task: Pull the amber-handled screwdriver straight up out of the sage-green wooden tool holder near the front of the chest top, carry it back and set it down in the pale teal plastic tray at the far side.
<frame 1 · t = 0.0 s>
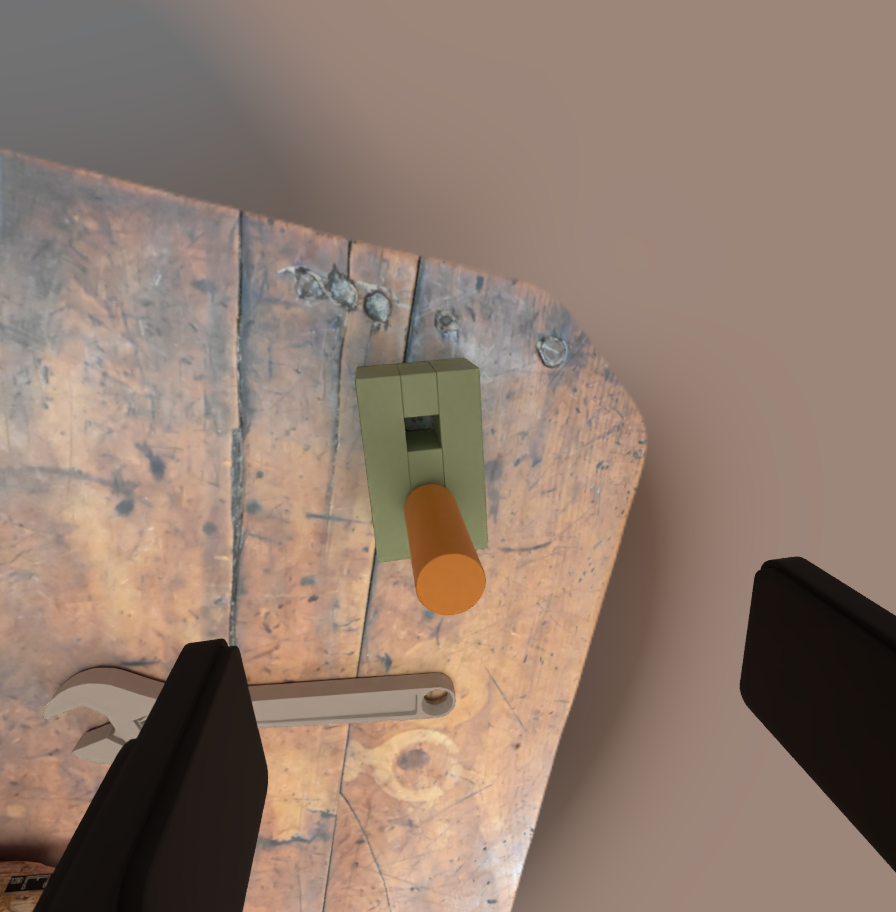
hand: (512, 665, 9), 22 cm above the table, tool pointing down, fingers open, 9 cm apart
holder: (419, 447, 31), on the table
adjustable wrench: (265, 703, 35), on the table
screwdriver: (422, 478, 32), resting in holder
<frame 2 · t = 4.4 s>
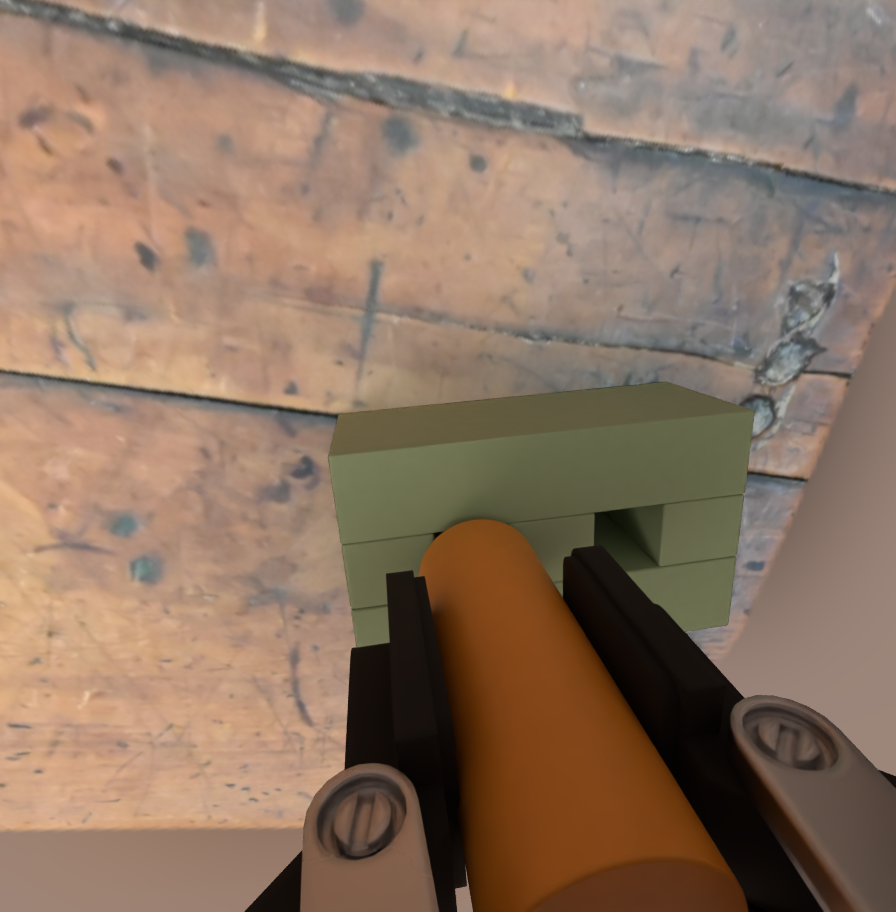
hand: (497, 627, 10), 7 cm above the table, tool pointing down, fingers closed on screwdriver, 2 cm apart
holder: (511, 491, 17), on the table
screwdriver: (450, 498, 17), resting in holder, touching gripper
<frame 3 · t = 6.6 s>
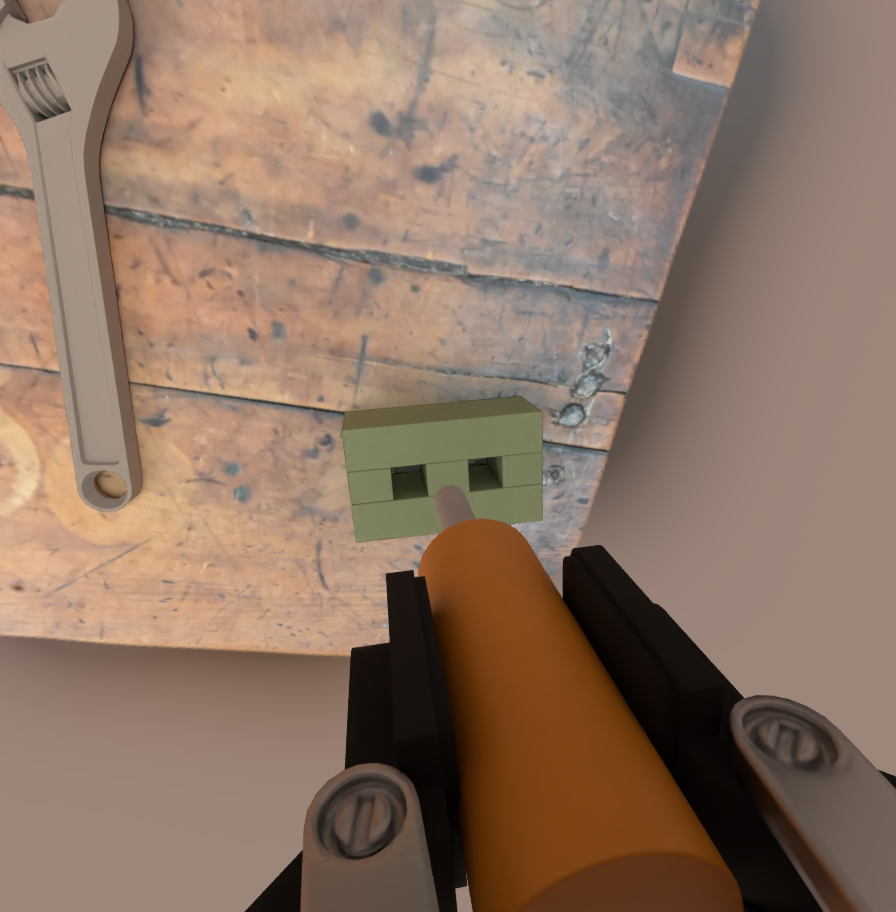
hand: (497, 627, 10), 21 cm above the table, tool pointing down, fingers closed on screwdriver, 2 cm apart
holder: (438, 454, 31), on the table
adjustable wrench: (73, 254, 25), on the table
screwdriver: (449, 498, 17), point 14 cm above the table, touching gripper
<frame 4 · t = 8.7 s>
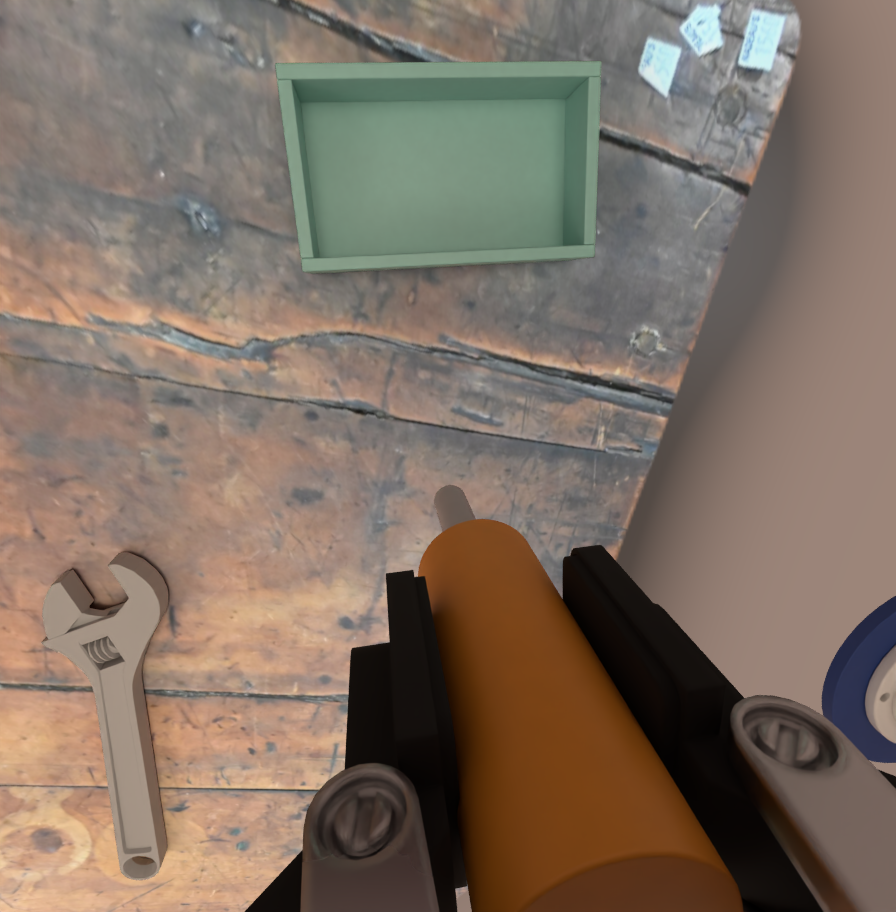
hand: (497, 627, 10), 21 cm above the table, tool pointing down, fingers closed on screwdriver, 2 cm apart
tray: (439, 183, 27), on the table
adjustable wrench: (120, 717, 34), on the table
screwdriver: (449, 498, 17), point 15 cm above the table, touching gripper
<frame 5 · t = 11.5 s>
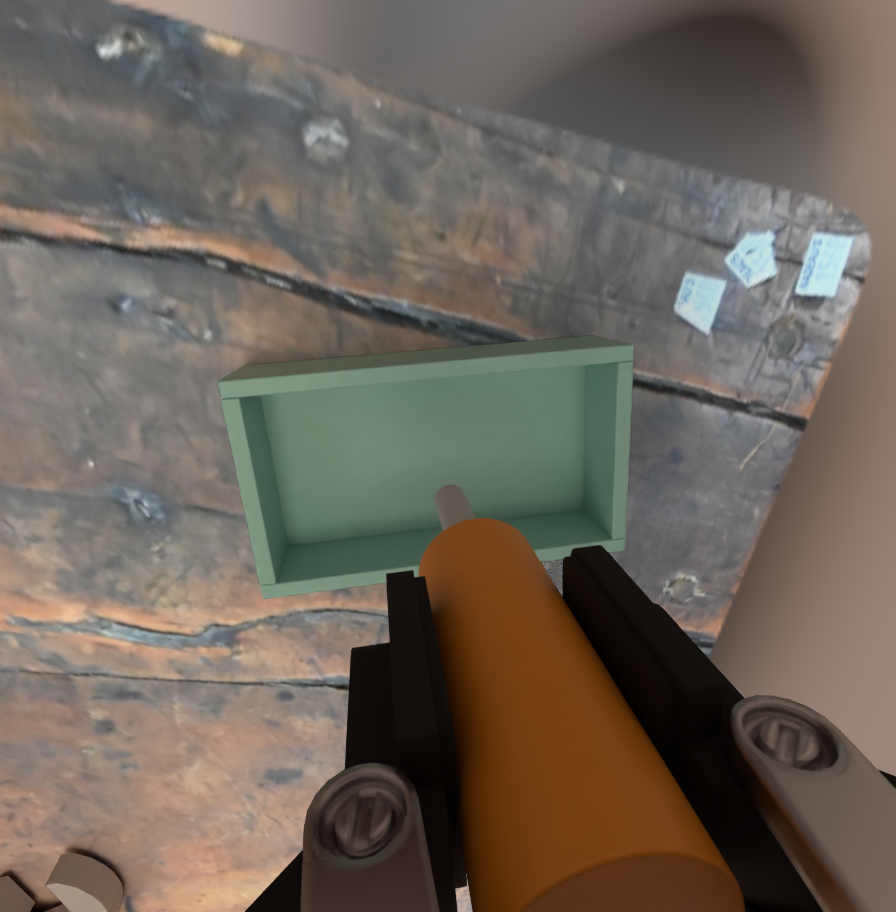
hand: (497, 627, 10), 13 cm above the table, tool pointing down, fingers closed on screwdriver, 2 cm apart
tray: (432, 446, 22), on the table
screwdriver: (449, 498, 17), point 6 cm above the table, touching gripper
when the fingers open (7 cm above the table, at t = 13.1 s): screwdriver stays where it is, resting on tray.
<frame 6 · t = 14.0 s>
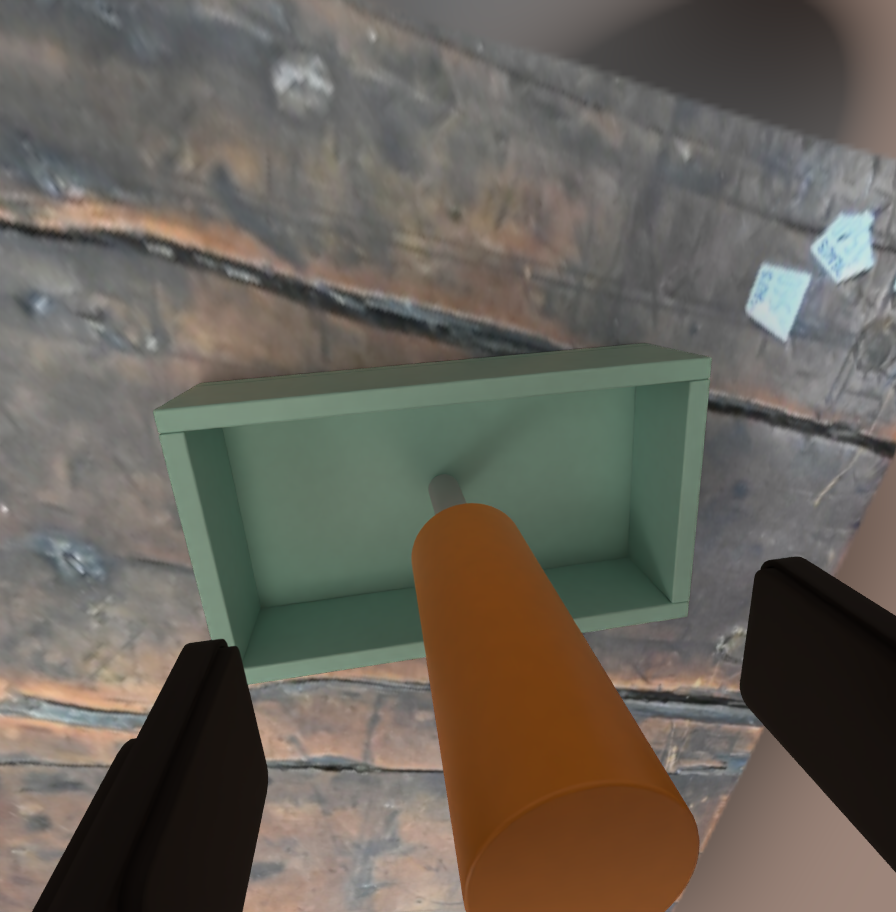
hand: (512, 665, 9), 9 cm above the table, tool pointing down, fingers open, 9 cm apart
tray: (442, 482, 18), on the table
screwdriver: (443, 487, 17), point 1 cm above the table, touching tray
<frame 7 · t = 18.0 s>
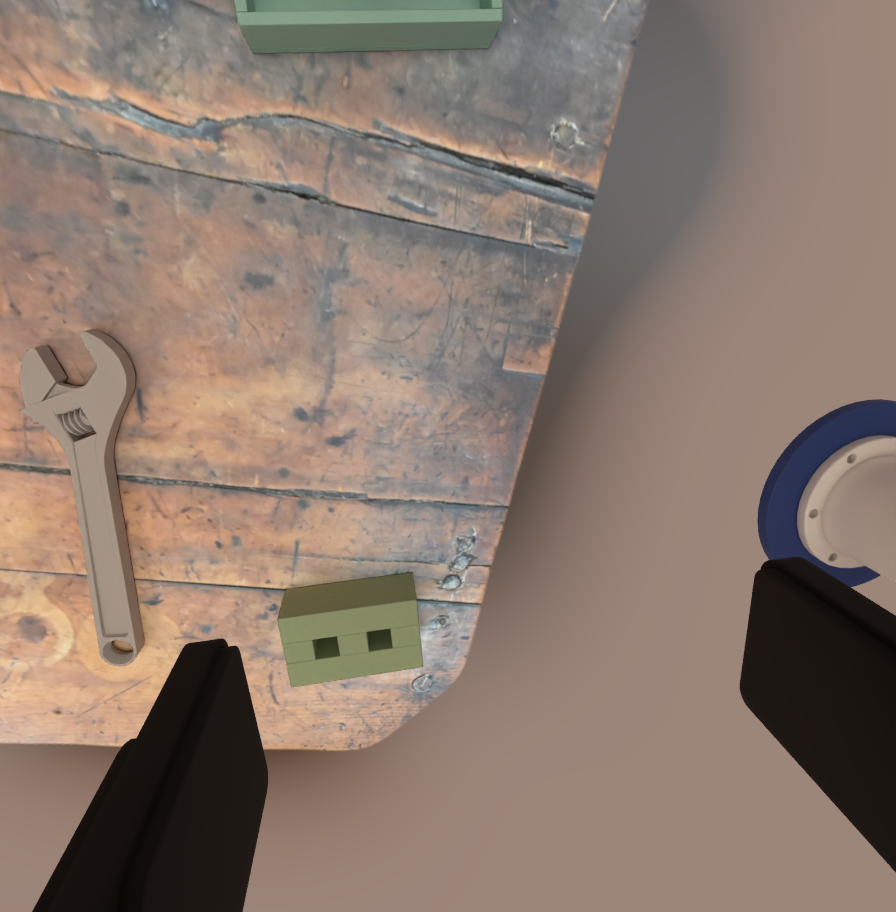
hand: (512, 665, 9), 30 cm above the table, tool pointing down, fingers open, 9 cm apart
holder: (354, 613, 43), on the table
adjustable wrench: (96, 504, 38), on the table
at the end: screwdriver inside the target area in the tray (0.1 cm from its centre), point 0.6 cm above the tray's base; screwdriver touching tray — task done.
